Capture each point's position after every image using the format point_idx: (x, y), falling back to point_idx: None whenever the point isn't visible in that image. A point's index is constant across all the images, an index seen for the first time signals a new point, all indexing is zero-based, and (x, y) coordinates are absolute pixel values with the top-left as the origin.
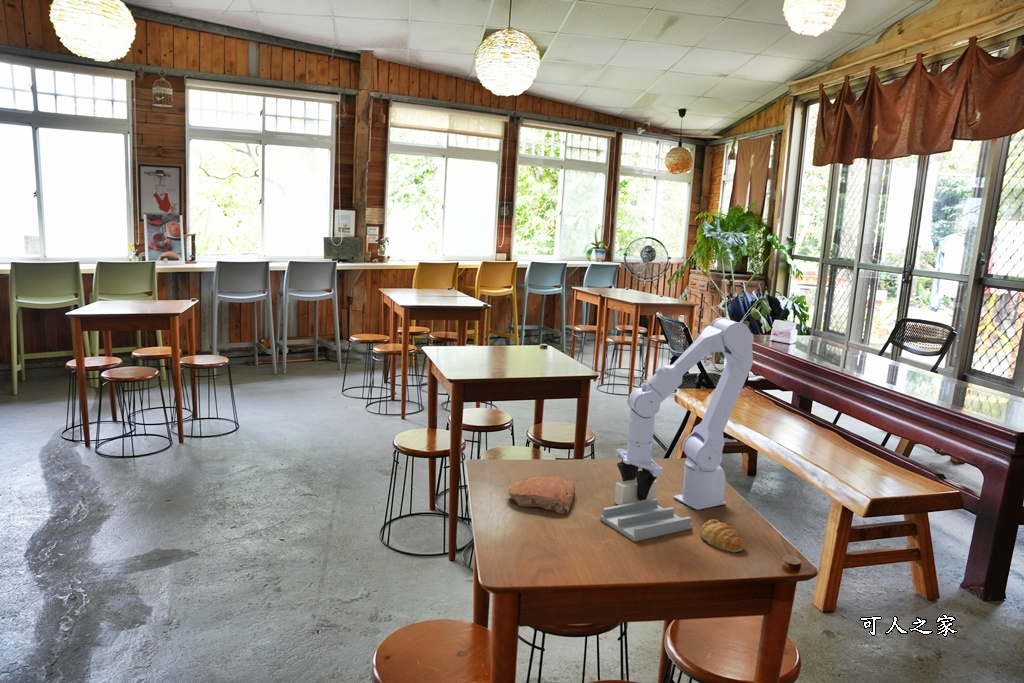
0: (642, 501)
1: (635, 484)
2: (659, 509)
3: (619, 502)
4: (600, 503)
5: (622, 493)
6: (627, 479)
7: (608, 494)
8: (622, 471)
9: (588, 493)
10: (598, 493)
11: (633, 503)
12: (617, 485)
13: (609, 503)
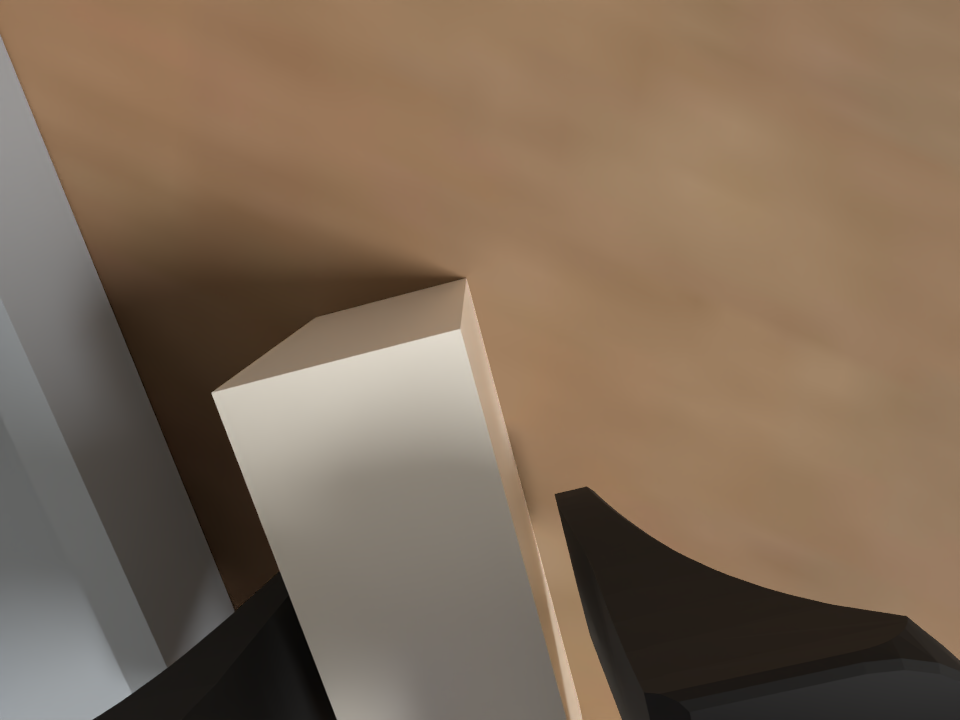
0: (92, 545)
1: (339, 651)
2: (91, 666)
3: (360, 310)
4: (460, 82)
5: (274, 354)
6: (605, 617)
7: (719, 312)
8: (667, 626)
9: (816, 48)
10: (781, 194)
11: (18, 396)
12: (399, 337)
13: (445, 207)
